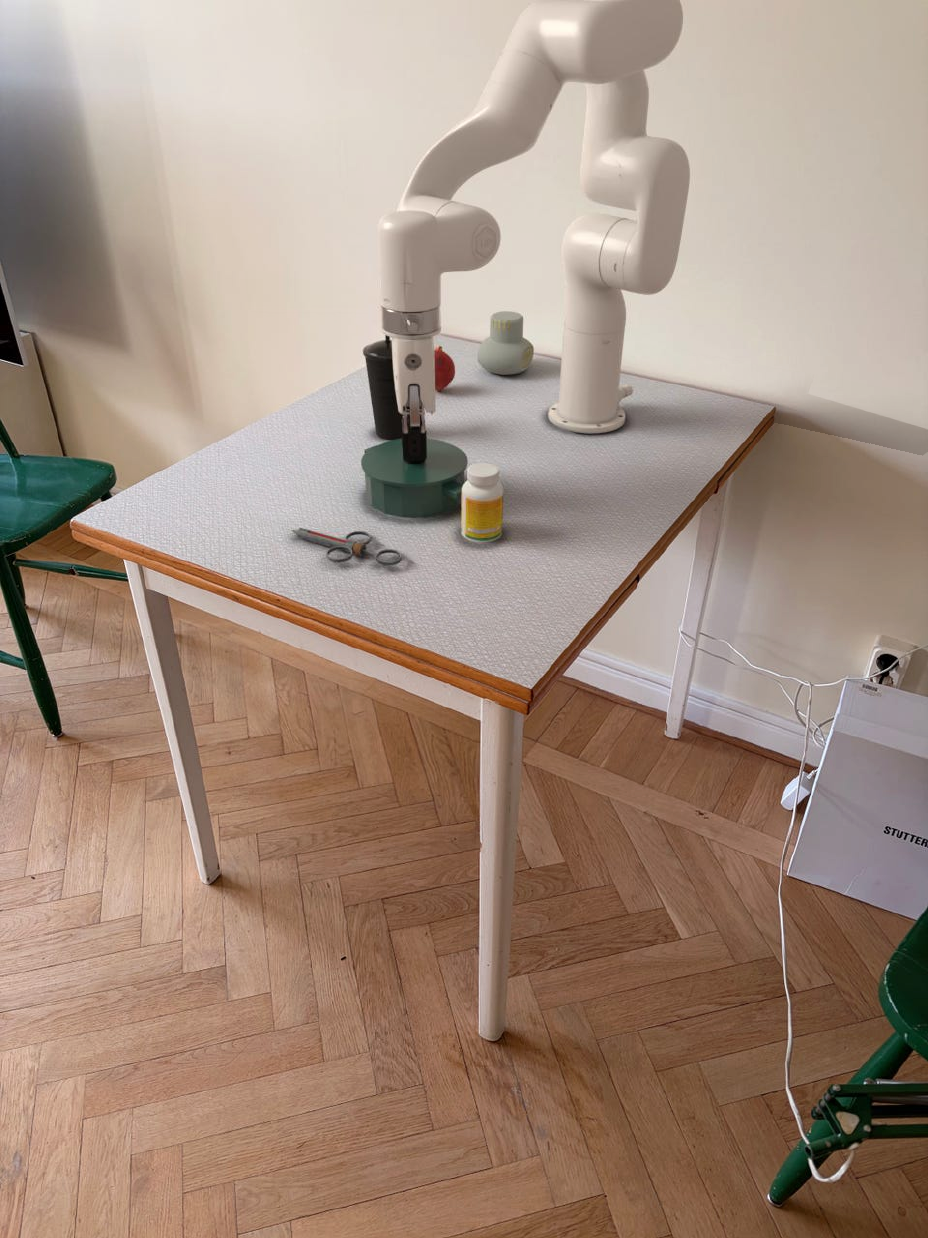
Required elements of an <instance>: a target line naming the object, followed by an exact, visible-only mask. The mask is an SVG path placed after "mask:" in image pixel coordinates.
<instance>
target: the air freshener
mask: <svg viewBox="0 0 928 1238" xmlns="http://www.w3.org/2000/svg"><path fill="white" fill-rule="evenodd" d="M489 322H490V324H489V325H490V327H489V329H490V330H489V336H488V337H486V338H485V339H483V341H482V342H481V343H480V346H479V347H478V351H477V362H478V364H479V365H480V367H482V368H484V370H486V371H488V372H490V373H493V374H495V375H501V376H508V375H509V376H511V375H518V374H521V373H522V372H524V371H526V370H527V369H528V368H529V367H530V365H531V363H532V360H533V358H534V353H535V349H534V348H535V347H534V344H532V343H531V341H529V340H528V339H527V338H525V337H524V316H523V315H522V314H521V313H519V312H516V311H497V312H494V313H493V314H492V315H491V316H490V321H489Z"/></svg>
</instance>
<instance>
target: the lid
mask: <svg viewBox="0 0 928 1238" xmlns="http://www.w3.org/2000/svg"><path fill="white" fill-rule="evenodd" d="M408 419H410V416H408ZM402 426H403V432H404V417H403V418H402ZM373 446H374V447H373ZM373 446H371V447H372V448H371V449H369V450H368V451H367V452H366V453H365V452H364V454H363V455H362V457H361V460H360V466H361V469H362V471H363V472H364V474H365V473H366V474H367V475H368V476H369V477H371V478H372V479H374V480H376V481H379V482H382V483H385V484H389V485H394V486H401V487H426V486H433V485H438V484H442V483H445V482H448V481H451V480H453V479H455V478H457V477H458V476H460V475H461V474H462V473H463V472H464V473H465V471H466V470H467V469H468V465H469V462H468V461H469V460H468V457H467V453H466V452H465V451H464V450H462V448H460V447H459V446H456V445H454V444H452V443H450V442H447V441H443V440H440V439H433V438H427V459H426V460H415V461H405V460H404V459H403V447H402V438H400V439H394V440H387V441H384V442H382V443H379V444H376V446H375V445H373Z"/></svg>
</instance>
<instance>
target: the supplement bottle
mask: <svg viewBox="0 0 928 1238" xmlns="http://www.w3.org/2000/svg"><path fill="white" fill-rule="evenodd" d="M466 470H467V471H466V479H467V480H466V481H464V484H463V486H462V502H461V503H460V505H461V510H460V513H461V515H460V516H461V517H460V518H461V520H460V531H461V535H462V537H464V538H465V539H467V540H468V541H472V542H477V543H489V542H494V541H496V540H498V539H499V538H500V537H501V536H502V535H503V518H504V514H503V513H504V493H505V492H504V486H503V484H502V483H501V482H500V481H499V479H500V469H499V467H498V466H497V465H495V464H493V463H489V462H477V463H473V464H471V465H469V466H467V468H466Z"/></svg>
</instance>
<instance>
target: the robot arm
mask: <svg viewBox="0 0 928 1238" xmlns="http://www.w3.org/2000/svg"><path fill="white" fill-rule="evenodd" d="M683 23H684V12H683V7H682V2H681V1H680V0H537V1H534V2H533V3H530V4H528V6H526V7H525V8H524V9H523V10H522V12H521V13H520V15H519V16H518V18H517V20H516V22H515V24H514V26H513V28H512V31H511V33H510V35H509V36H508V39H507V41H506V43H505V44H504V47H503V49H502V51H501V53H500V55H499V58H498V60H497V62H496V64H495V66H494V68H493V70H492V73H491V75H490V77H489V78H488V80H487V83H486V85H485V87H484V89H483V92H482V94H481V96H480V98H479V101H478V102H477V104H476V106H475V107H474V109H473V110H472V111H471V112H470V114H468V115H467V116H465V117H464V118H463V119H462V120H461V121H459V122H458V123H457V124H455V125H454V126H453V127H452V128H451V129H449V130H448V131H447V132H446V133H445V134H444V135H442V137H440V139H439V140H438V141H437V142H435V143H434V144H433V145H432V146H431V147H430V148H429V150H427V151H426V153H425V154H424V155H423V156H422V158H421V159H420V161H418V163H417V165H416V167H415V169H414V170H413V172H412V174H411V176H410V178H409V181H408V182H407V184H406V186H405V188H404V191H403V193H402V196H401V198H400V201H399V203H398V206H397V210H396V211H391V212H388V213H386V214H384V215H382V217H380V219H379V221H378V223H377V250H378V253H377V254H378V272H379V273H378V274H379V275H378V277H379V299H380V323H381V324H380V325H381V332H382V334H384V336H385V335H387V336H389V337H390V338H391V340H392V358H393V373H394V383H395V391H396V397H397V404H398V410H399V412H400V413H401V414H402V415H403V417H404V432H403V426H402V438H401V439H402V447H403V459H404V460H405V461H415V460H426V459H427V439H428V438H427V435H428V434H427V430H426V418H425V417H426V416H425V415H426V413H430V415H433V414H435V412H436V411H437V409H436V406H437V405H436V390H435V359H434V350H435V343H434V337H435V336H437V335H438V334H440V333H441V332H442V282H441V281H442V274H444V273H454V272H456V273H457V272H469V271H470V272H472V271H476V270H479V269H482V268H483V267H485V266H486V265H488V264H489V263H491V262H492V260H493V259H494V258H495V256H496V255H497V253H498V251H499V248H500V245H501V240H502V239H501V237H502V234H501V228H500V225H499V223H498V221H497V219H496V218H495V217H494V216H493V215H492V214H491V213H490V212H489V211H488V210H486V209H484V208H481V207H479V206H477V205H472V204H467V203H462V202H458V201H455V200H452V199H453V197H455V194H456V193H457V192H458V191H459V190H460V188H461V187H462V186H463V185H465V183H467V181H469V180H470V179H471V178H473V177H474V176H475V175H477V174H479V173H480V172H482V171H484V170H486V169H489V168H491V167H494V166H496V165H499V164H502V163H505V162H507V161H510V160H512V159H515V158H517V157H520V156H522V155H524V154H525V153H527V152H529V151H530V150H532V149H533V148H534V147H535V145H536V143H537V142H538V139H539V138H540V135H541V133H542V132H543V129H544V127H545V125H546V124H547V123H546V122H547V121H548V119H549V116H550V114H551V112H552V110H553V108H554V105H555V104H556V101H557V100H558V97H559V95H560V93H561V92H562V90H563V88H564V86H565V85H566V84H567V83H578V84H579V83H580V84H584V85H585V90H586V107H585V108H586V109H585V120H584V128H583V129H584V130H583V140H582V149H581V157H580V158H581V159H580V170H579V171H580V172H579V173H580V174H579V184H580V189H581V192H582V194H583V195H584V197H585V198H586V199H588V200H589V201H591V202H593V203H596V204H598V205H603V206H608V207H612V208H618V209H623V210H628V211H634V212H636V213H637V219H636V220H634V219H630V218H627V217H620V216H616V215H610V214H606V213H598V212H597V213H586V214H583V215H581V216H579V217H577V218H575V219H574V220H573V221H572V222H571V223H570V224H569V225H568V227H567V228H566V230H565V233H564V235H563V238H562V243H561V260H562V261H561V262H562V269H563V277H564V316H563V317H564V318H563V331H562V345H561V361H560V374H559V375H560V376H559V391H558V392H559V393H558V402H555V403H554V404H552V405H551V406H550V407H549V408H548V413H547V415H548V420H549V422H550V423H552V425H554V426H555V427H558V428H560V429H563V430H566V431H568V432H572V433H578V434H590V435H591V434H602V433H603V434H604V433H608V432H612V431H615V430H618V429H620V428H621V427H622V426H623V425H624V424H625V422H626V412H625V410H624V409H623V408H621V406H620V402H622V400H623V399H625V398H628V397H630V396H631V395H632V394H633V392H634V389H633V386H631V385H630V384H625V385H622V386H620V379H621V370H622V360H623V350H624V342H625V332H626V331H625V330H626V323H627V307H626V302H625V298H624V294H623V292H622V291H625V292H630V293H633V294H634V293H635V294H639V295H643V296H644V295H646V296H651V295H655V294H658V293H660V292H661V291H663V290H665V288H666V287H667V286H668V285H669V282H671V279H672V278H673V275H674V272H675V269H676V266H677V263H678V259H679V253H680V246H681V241H682V234H683V229H684V223H685V216H686V210H687V203H688V197H689V191H690V181H691V168H690V161H689V157H688V155H687V153H686V150H685V149H684V148H683V146H682V145H681V144H679V142H677V141H675V140H672V139H669V138H665V137H659V136H650V135H648V134H647V122H648V121H647V120H648V113H649V112H648V111H649V101H650V89H649V88H650V87H649V83H648V78H647V75H646V73H645V72H646V71H645V70H648V69H650V68H653V67H655V66H658V65H659V64H661V63H662V62H663V61H665V60H666V59H667V58H668V57H669V56H670V55H671V54H672V52H673V51H674V50H675V48H676V46H677V45H678V42H679V40H680V37H681V35H682V29H683ZM408 416H410V419H408ZM401 423H402V420H401Z"/></svg>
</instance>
